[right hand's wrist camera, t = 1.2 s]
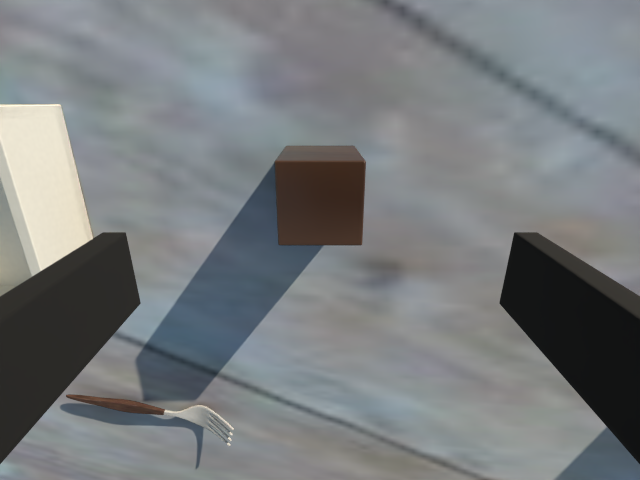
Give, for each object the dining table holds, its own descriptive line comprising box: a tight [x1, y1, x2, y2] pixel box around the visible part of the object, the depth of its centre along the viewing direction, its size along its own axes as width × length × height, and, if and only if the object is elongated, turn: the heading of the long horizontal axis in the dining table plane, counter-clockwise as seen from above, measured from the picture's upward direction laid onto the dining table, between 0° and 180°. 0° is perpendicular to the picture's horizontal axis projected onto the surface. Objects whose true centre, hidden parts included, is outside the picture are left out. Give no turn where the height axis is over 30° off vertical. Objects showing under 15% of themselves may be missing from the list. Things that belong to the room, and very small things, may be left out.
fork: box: [66, 395, 234, 446], centre depth 34 cm, size 3×16×2 cm, turn 76°
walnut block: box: [275, 146, 366, 245], centre depth 24 cm, size 5×5×7 cm
